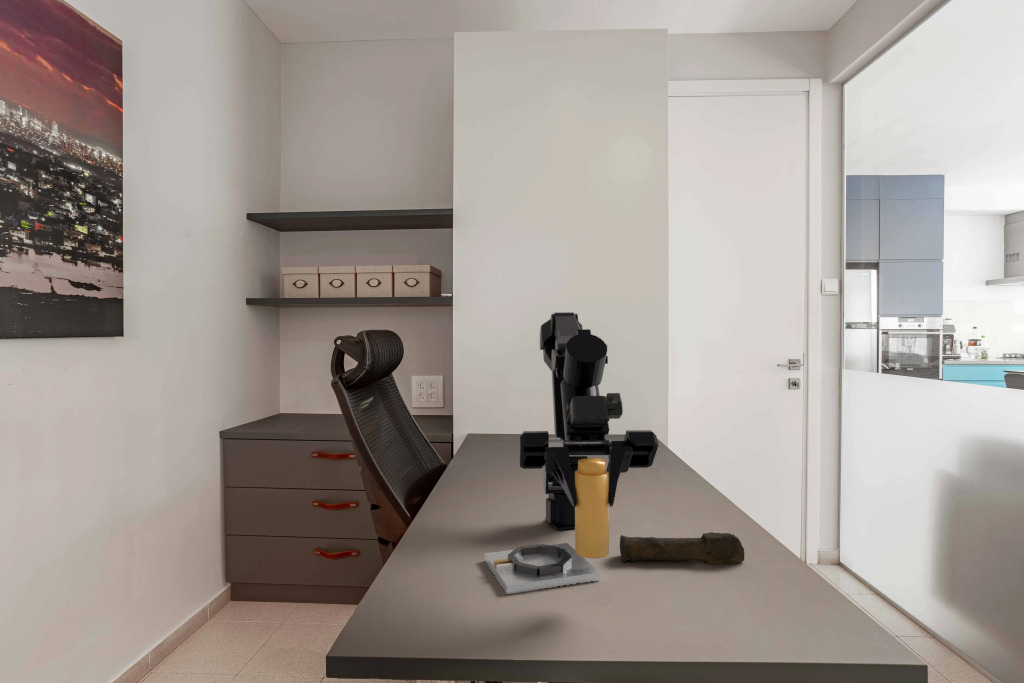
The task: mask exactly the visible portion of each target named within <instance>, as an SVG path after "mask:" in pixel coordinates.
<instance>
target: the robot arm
mask: <svg viewBox="0 0 1024 683" xmlns="http://www.w3.org/2000/svg"><path fill="white" fill-rule="evenodd" d="M539 350H540V351H542V355H543V357H542V358H543V362H544V364H546V365H547V368H549V370H550V371H551V383H552V384H551V386H552V405H553V407H552V408H553V426H554V428H553V429H554V437H549V431H548V430H531V431H529V430H525V431H523V432H522V433H521V434H520V435H519V468H521V469H523V470H528V469H529V470H530V469H531V470H536V469H542V470H543V477H542V478H543V490H544V494H545V495H548V496H547V498H545V517H544V520H545V521H546V522H547V523H548V524H550V525H551V526H552V527H553V528H554V529H555V530H556V531H563V530H571V529H575V507H576V505H577V498H576V490H575V471H576V470H578V460H579V459H583V458H588V457H608V461H607V462H608V463H607V466H606V467H607V468H606V471H608V472H609V508H611V507H612V508H613V507H614V505H615V504H614V503H615V497H616V492H617V487H618V482H619V478H620V476H621V474H622V473H627V472H628V471H629V469H638V468H639V469H647V468H650V467H652V466H653V464H654V460H655V458H656V454H657V451H658V448H659V441H658V437H657V435H656V434H655V433H654V432H653V431H652V430H651V429H649V430H647V429H646V430H644V429H642V430H638V429H637V430H635V429H633V430H625V435H624V438H623V440H611V439H607V437H606V436H608V435H609V432H610V426H609V425H610V424H609V422H610V420H611V419H612V420H613V419H618V420H619V419H620V418H621V416H622V415H623V411H624V410H623V401H622V396H621V393H620V392H608V393H606V396H605V395H600V390H599V389H600V388H599V386H600V384H601V383H602V380H603V377H604V371H605V370H604V369H605V367H606V365H607V364H609V362H608V360H609V355H607V354H608V344H607V343H606V342H605V341H604V340H603V339H602V338H600V337H599V336H597V335H594V334H592V331H591V328H590V329H589V328H588V329H587V328H586V329H583V324H581V322H579V316H578V313H575V312H574V311H573V312H569V311H566V312H565V311H562V312H561V311H559V312H554V313H551V314H550V318H549V320H547V321H545V322H544V323H542V324H541V325H540V331H539Z"/></svg>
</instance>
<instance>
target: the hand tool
mask: <svg viewBox="0 0 1024 683" xmlns="http://www.w3.org/2000/svg"><path fill="white" fill-rule="evenodd" d="M744 549H745V548H744V546H743V545H742V542H741V540H740V538H739V537H738V536H736V535H735V534H732V533H729V532H728V533H727V532H722V533H721V532H711V531H710V532H705V533H702V535H701V537H654V536H649V537H642V536H633V537H632V536H630V537H629V536H626V535H623V534H620V537H619V552H620V560H621V562H623V563H625V562H626V561H631V562H633V563H635V562H636V561H640V560H641V561H646V560H647V561H656V560H657V561H698V562H700V561H701V562H704V563H705V564H706V565H710V566H718V565H719V566H720V565H721V566H722V565H731V564H732V565H733V564H737V563H742V562H744V561H745V550H744Z"/></svg>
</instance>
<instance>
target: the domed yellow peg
mask: <svg viewBox="0 0 1024 683" xmlns="http://www.w3.org/2000/svg"><path fill="white" fill-rule="evenodd" d="M606 467H607V466H606V460H605V459H603V458H597V457H595V458H594V457H587V458H583V459H579V460H578V470H576V471H575V490H576V498H577V505H576V507H575V528H574V538H575V539H574V547H575V548H574V550H575V552H576V554H577V555H579V556H581V557H583V558H584V559H585V558H586V559H602V558H605V557H607V556H609V554H610V509H609V508H610V505H609V472H608V471H607V468H606Z"/></svg>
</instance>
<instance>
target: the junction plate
mask: <svg viewBox="0 0 1024 683" xmlns="http://www.w3.org/2000/svg"><path fill="white" fill-rule="evenodd" d="M485 561H486V562H485ZM484 562H485V564H486V563H487V564H488V565H487V564H486V565H487V567H488V566H489V567H488V569H489V570H490V569H491V570H490V572H491V573H492V572H493V573H492V575H493V574H494V575H495V576H494V575H493V576H494V578H495V577H496V578H497V579H496V578H495V579H496V581H497V580H498V581H499V582H498V581H497V582H498V584H499V583H500V584H499V585H500V587H501V586H502V587H503V588H502V587H501V588H502V590H503V589H504V590H503V591H504V593H505V594H506V595H512V594H518V593H520V594H521V593H525V592H527V593H528V592H533V591H539V589H540V590H546V589H545V588H547V589H553V588H558V587H557V586H560V587H564V586H563V585H567V586H570V585H569V584H573V585H577V584H576V583H580V584H585V582H587V583H592V582H591V581H593V582H599V580H600V581H601V579H600V578H601V575H600V574H601V573H600V571H599V570H598V569H597V568H596V567H595V566H593V565H592V564H591V563H590V562H589V561H588V560H587V558H586V559H585V557H581V556H579V555H577V554H576V552H575V548H573V547H572V546H571V545H570V544H569V543H567V542H565V543H564V542H563V543H558V544H557V543H556V544H543V543H542V544H540V543H537V544H529V545H521V546H518V547H516V548H515V549H509V550H508V549H507V550H501V551H493V552H485V553H484ZM552 587H553V588H552Z"/></svg>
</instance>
